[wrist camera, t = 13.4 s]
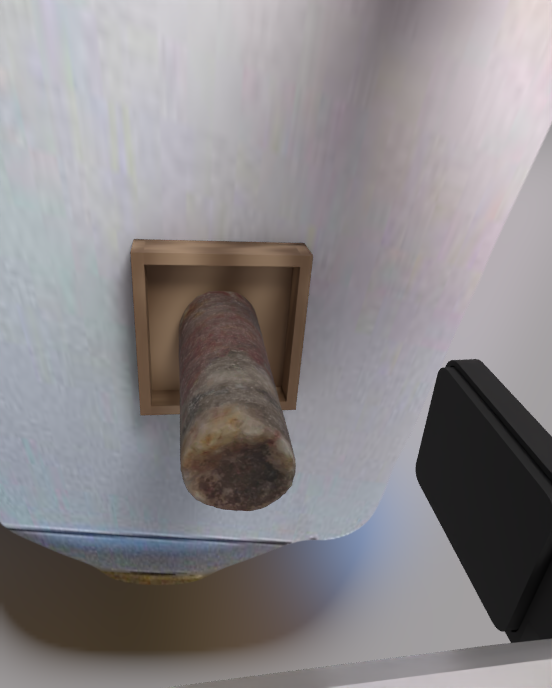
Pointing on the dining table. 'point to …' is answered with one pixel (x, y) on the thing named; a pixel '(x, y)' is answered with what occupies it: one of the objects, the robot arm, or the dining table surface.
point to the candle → (230, 407)
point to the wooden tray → (216, 275)
